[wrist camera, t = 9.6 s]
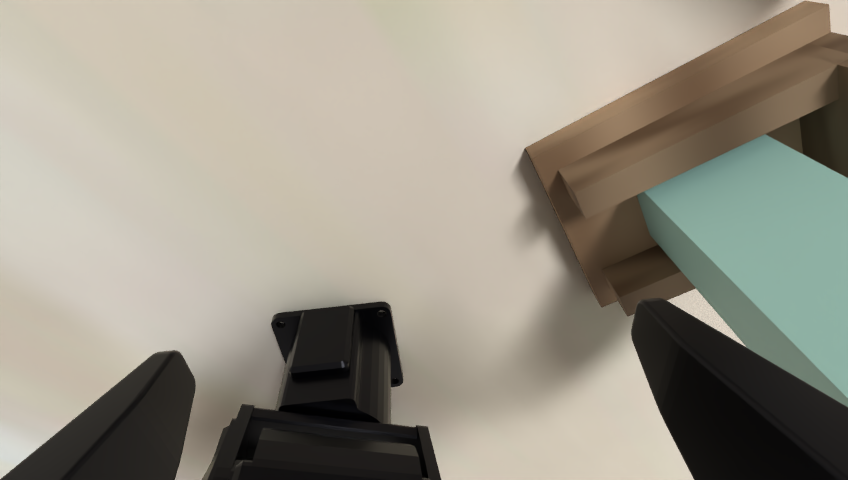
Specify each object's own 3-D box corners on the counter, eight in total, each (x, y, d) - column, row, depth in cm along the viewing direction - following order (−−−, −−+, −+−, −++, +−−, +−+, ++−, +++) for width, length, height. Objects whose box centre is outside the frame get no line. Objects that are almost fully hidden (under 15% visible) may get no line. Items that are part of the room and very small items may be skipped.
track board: (593, 293, 26) (626, 351, 22) (525, 147, 21) (553, 192, 17) (821, 194, 23) (901, 242, 20) (805, 0, 18) (908, 17, 15)
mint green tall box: (650, 235, 23) (871, 491, 12) (631, 178, 21) (871, 422, 10) (774, 179, 21) (1142, 413, 11) (765, 114, 20) (1192, 319, 9)
